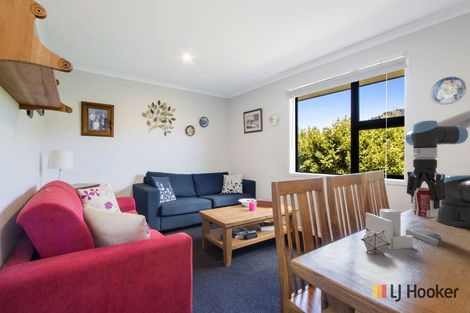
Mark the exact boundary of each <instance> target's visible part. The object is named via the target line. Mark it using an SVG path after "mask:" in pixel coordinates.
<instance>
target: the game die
mask: <svg viewBox="0 0 470 313" xmlns="http://www.w3.org/2000/svg"><path fill="white" fill-rule="evenodd" d="M366 229H367V228H366V227H365V230H366ZM383 233H384V231H382V232H378V231H371V230H368V229H367V232H366V231H365V235H364V236H363V238H360V240H361V241H363V243H364V245H365V246H364V247H365V248H366V251H365V254H368V253H369V252H370V253H374V254H379V255H382V257H386V255H385V251H386V250H387V248H386V247H387V245H390V243H388V242H387V240H386V238H385V236H384V234H383Z"/></svg>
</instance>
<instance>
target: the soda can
mask: <svg viewBox="0 0 470 313" xmlns="http://www.w3.org/2000/svg"><path fill="white" fill-rule="evenodd" d="M431 199H432V196H431V193H430V191H429V188H428V187H421V188H416V191H415V192H414V212H413V215H414V216H415V217H417V218H418V219H419V218H420V219H423V220H433V219H436V217H431V216H430V200H431Z"/></svg>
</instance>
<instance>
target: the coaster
mask: <svg viewBox="0 0 470 313" xmlns="http://www.w3.org/2000/svg"><path fill="white" fill-rule="evenodd" d="M411 230H412V231H415V232H418V233H421V234H423V235H426V236H429V237H432V238H435V239H437V240H439V239H441V236H440V235H439V234H438V233H436V232H432V231H430V230H429V231H428V230H422V229H411Z"/></svg>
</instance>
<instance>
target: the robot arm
mask: <svg viewBox="0 0 470 313" xmlns="http://www.w3.org/2000/svg"><path fill="white" fill-rule="evenodd" d="M412 128H413V129H412V130H410V131H408V132H407V133H406V135H405V140H406V143H407V144H408V145H410V146H413V147H412V148H413V150H412V153H413V154H412V157H413V160H412V161H413V162H412V167H413V168H414V169H413V171H407V172H406V174H407V184H406V194H407V195H409V196H410V197H411V200H410V201H411V204H412V212H413V213H414V192H415V191H416V188H422V185H423V183H424V182H425V184H426V185H427V188H429V191H430V193H431V196H432V199H431V200H430V216H431V217H436V218H435V219H436V221H437V222H439V223H440V224H443V225H447V226H452V227H458V228H465V229H466V228H467V229H470V175H469V174H468V175H466V174H465V175H460V174H459V175H445V174H444V173H439V172H437V168H438V160H437V159H436V158H437V157H438V145H440V146H441V145H460V144H463V143H465V142H466V141H467V140H468V137H469V132H468V130H467V129H469V128H470V109H468V110H466V111H464V112H460V113H458V114H456V115H453V116H451V117H448V118H445V119H443V120H441V121H438V122H437V120H432V119H431V120H420V121H416V122H414V124H413V127H412Z"/></svg>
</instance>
